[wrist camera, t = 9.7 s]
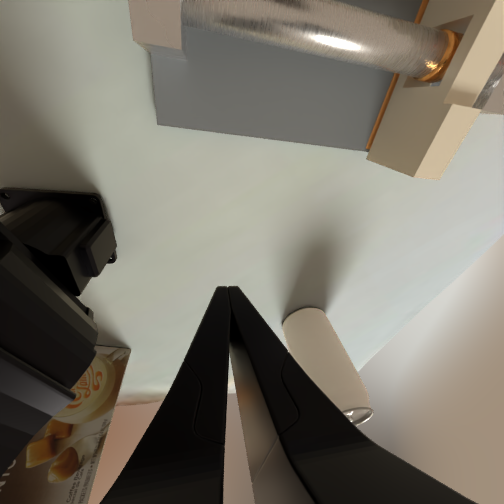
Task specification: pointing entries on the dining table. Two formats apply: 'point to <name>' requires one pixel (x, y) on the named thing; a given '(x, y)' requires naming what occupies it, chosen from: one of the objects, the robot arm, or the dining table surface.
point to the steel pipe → (312, 35)
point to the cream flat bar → (441, 92)
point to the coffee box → (69, 440)
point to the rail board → (277, 88)
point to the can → (326, 362)
